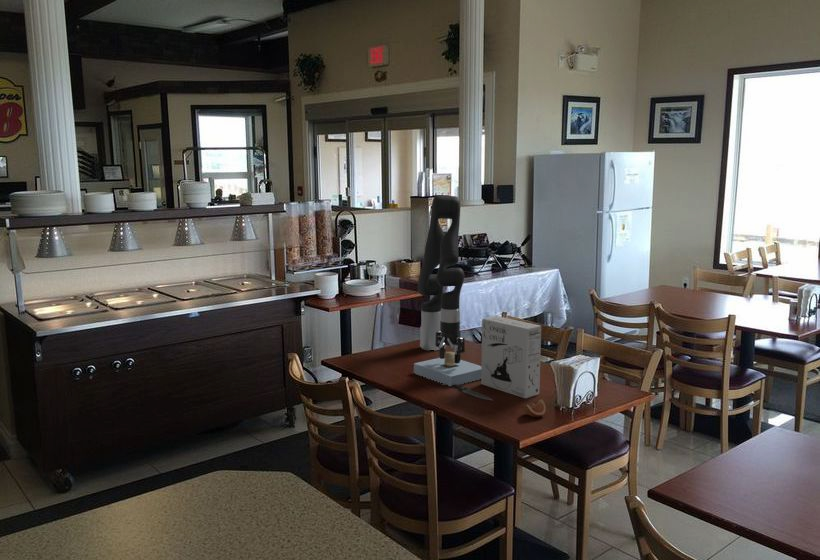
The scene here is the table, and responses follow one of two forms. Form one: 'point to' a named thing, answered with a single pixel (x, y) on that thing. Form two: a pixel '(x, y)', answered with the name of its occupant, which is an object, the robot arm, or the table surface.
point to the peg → (449, 360)
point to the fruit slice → (535, 408)
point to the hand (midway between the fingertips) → (449, 360)
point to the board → (448, 371)
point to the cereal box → (511, 356)
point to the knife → (470, 392)
